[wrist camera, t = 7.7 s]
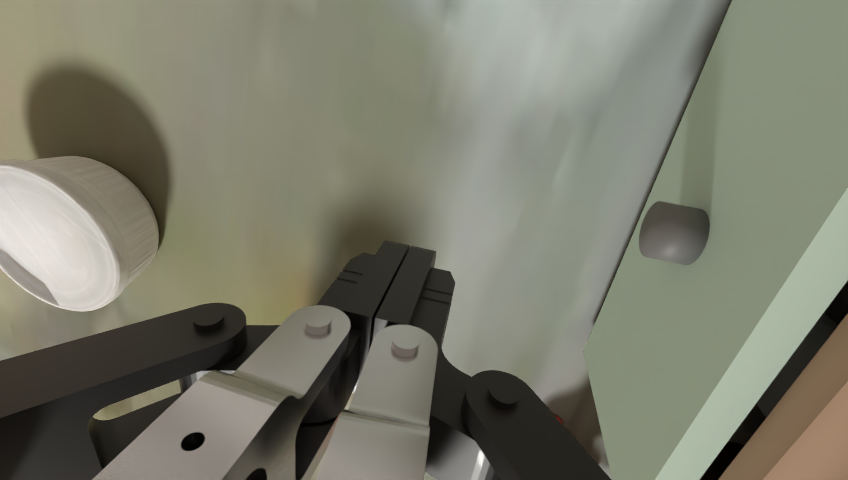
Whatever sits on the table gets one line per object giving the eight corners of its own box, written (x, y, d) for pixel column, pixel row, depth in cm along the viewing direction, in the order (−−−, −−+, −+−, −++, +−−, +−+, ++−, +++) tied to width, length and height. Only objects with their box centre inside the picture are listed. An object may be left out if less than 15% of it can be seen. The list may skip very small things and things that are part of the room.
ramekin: (25, 206, 33) (-54, 234, 29) (69, 109, 28) (-17, 123, 24) (139, 298, 35) (83, 337, 31) (198, 222, 31) (142, 255, 26)
